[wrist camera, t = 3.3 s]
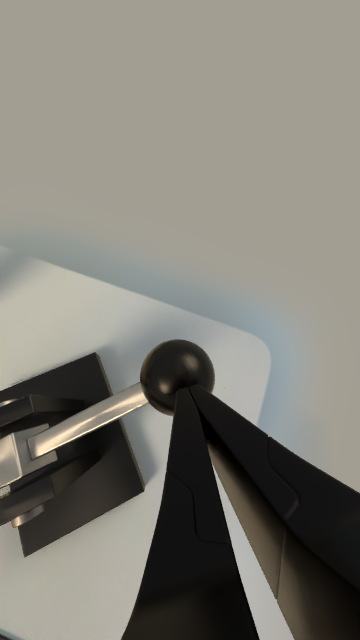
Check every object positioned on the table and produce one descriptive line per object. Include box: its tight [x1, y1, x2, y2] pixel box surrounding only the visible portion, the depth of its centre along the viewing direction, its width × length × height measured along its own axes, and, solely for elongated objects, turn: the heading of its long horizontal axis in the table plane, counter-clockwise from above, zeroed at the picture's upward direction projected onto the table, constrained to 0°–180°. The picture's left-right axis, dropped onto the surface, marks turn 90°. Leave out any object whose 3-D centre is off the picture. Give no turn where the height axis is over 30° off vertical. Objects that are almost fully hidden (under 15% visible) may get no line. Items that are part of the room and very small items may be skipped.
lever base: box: [0, 352, 145, 557], centre depth 16 cm, size 9×12×10 cm
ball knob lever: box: [0, 339, 215, 489], centre depth 12 cm, size 13×4×4 cm, turn 115°
